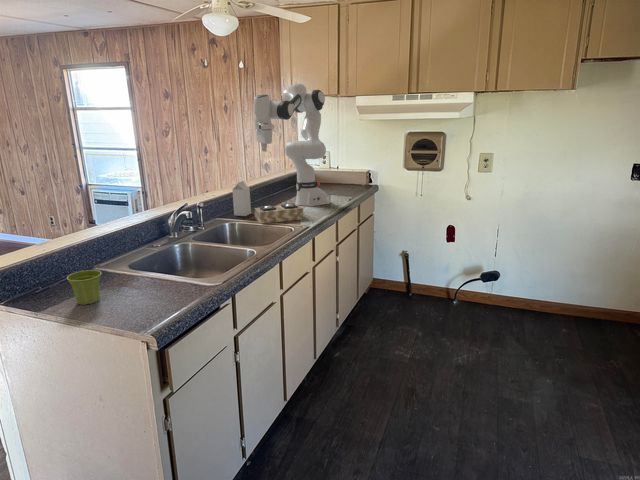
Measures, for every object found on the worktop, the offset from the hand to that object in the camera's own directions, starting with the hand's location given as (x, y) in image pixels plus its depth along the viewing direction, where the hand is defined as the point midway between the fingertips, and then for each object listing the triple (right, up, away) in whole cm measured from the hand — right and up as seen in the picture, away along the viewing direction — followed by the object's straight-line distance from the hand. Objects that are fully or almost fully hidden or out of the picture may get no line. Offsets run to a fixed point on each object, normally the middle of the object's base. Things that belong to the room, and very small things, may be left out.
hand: (264, 151), depth 244 cm
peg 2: (+14, -37, -3) cm, 39 cm away
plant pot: (-41, -69, -107) cm, 134 cm away
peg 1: (+3, -38, -7) cm, 39 cm away
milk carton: (-13, -35, +7) cm, 38 cm away
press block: (+9, -38, -5) cm, 39 cm away
